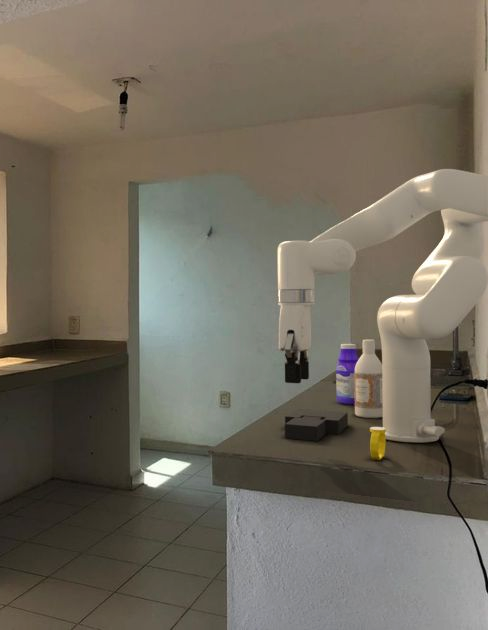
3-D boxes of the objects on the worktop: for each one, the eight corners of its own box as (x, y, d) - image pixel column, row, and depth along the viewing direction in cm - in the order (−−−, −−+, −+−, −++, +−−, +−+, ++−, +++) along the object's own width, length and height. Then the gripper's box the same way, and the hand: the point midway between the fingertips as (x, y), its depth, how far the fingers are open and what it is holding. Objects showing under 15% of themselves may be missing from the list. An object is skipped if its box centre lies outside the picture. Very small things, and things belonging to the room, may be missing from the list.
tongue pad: (328, 431, 152) (328, 417, 152) (317, 441, 143) (317, 426, 143) (297, 428, 156) (297, 415, 156) (284, 438, 146) (284, 423, 146)
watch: (374, 454, 130) (374, 424, 130) (389, 456, 128) (389, 426, 128) (366, 460, 125) (366, 429, 125) (381, 462, 123) (381, 431, 123)
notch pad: (347, 425, 159) (347, 412, 159) (338, 434, 149) (338, 420, 149) (297, 421, 166) (297, 408, 166) (285, 429, 156) (284, 416, 155)
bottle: (332, 402, 193) (331, 343, 193) (348, 401, 195) (347, 343, 194) (349, 406, 186) (349, 345, 186) (366, 404, 188) (365, 344, 188)
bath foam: (349, 415, 171) (348, 340, 171) (365, 412, 175) (364, 338, 175) (373, 419, 166) (372, 341, 165) (389, 416, 169) (389, 339, 169)
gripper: (288, 298, 150) (289, 375, 150) (267, 299, 135) (268, 384, 136) (322, 297, 146) (323, 377, 146) (304, 298, 131) (305, 386, 132)
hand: (297, 380), depth 141 cm, fingers open, 6 cm apart
